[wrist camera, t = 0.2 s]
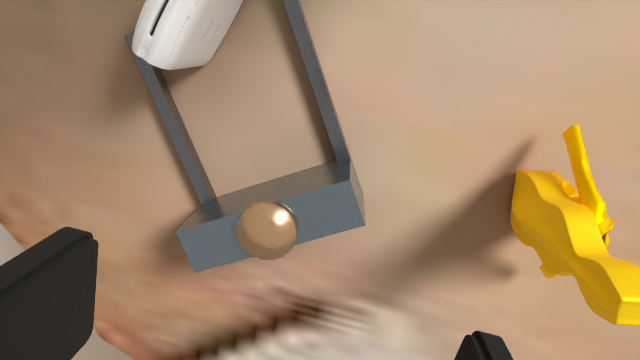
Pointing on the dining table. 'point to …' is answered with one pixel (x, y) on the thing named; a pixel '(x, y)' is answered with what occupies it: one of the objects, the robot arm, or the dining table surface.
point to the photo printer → (182, 31)
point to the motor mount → (269, 197)
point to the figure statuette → (575, 235)
